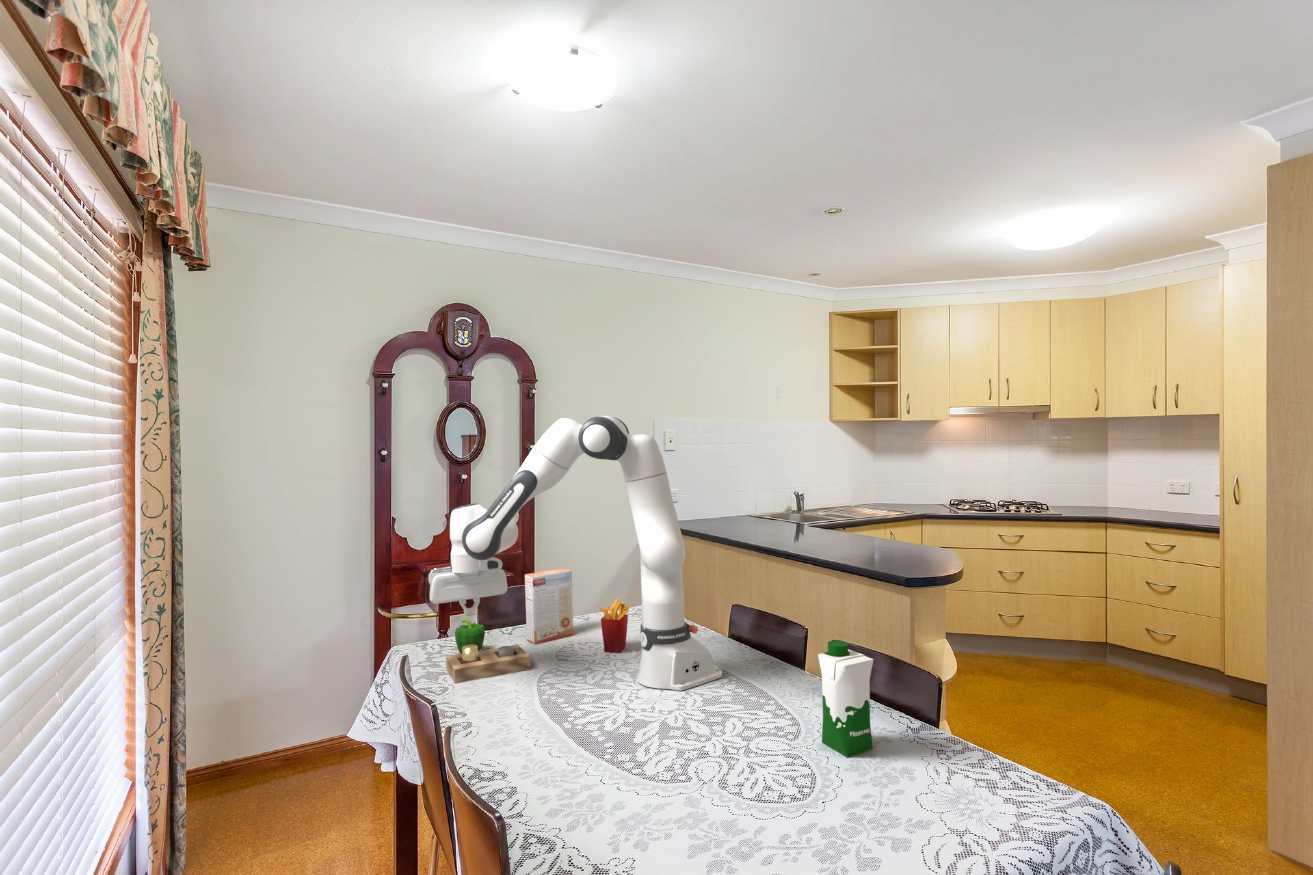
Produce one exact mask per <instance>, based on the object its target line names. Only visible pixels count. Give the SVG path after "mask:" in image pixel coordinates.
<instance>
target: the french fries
mask: <svg viewBox="0 0 1313 875" xmlns="http://www.w3.org/2000/svg"><path fill="white" fill-rule="evenodd" d="M631 607H632V606H631V605H630V604H628V605H627V604H625V601H623V602H621V601H620V600H619V599H617V598H616V599H615V601H614V602H613V603H612V605H611V607H609V606H608V605H607V606H605V608H603V607H602V606H601V607H600V608H599V610H600V611H601V612H602V613H603V614H604V616H602V617H601V618H600V625H601V633H602V634H601V635H602V642H603V650H604V653H611V654H612V653H613V654H621V653H622V652H623V651H624V650H625V649H626V647H627V645H626V644H627V633H628V621H629V614H627V613H628V612H629V609H630V608H631Z"/></svg>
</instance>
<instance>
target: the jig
mask: <svg viewBox="0 0 1313 875" xmlns="http://www.w3.org/2000/svg"><path fill="white" fill-rule="evenodd" d="M445 660H446V662H445V663H446V664H445V666H446V671H447V672H448V675H449V676H450V677H451V680H452V681H453V682H454V684H459V683H464V682H469V681H475V680H480V679H486V678H491V677H496V676H502V675H506V674H512V673H517V672H518V673H519V672H523V671H528V670H531V655H529V654H528V653H527V652H526V651H525V650H524V649H523V648H522V647H521V646H520V644H513V645H504V646H500V647H495V648H494V647H493V648H488V649H481V650H480V651H478V661H477V662H471V663H465V664H462V654H461V653H458V654H452V655H447V656H445Z"/></svg>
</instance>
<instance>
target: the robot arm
mask: <svg viewBox="0 0 1313 875" xmlns="http://www.w3.org/2000/svg"><path fill="white" fill-rule="evenodd" d="M583 454H585V455H587V456H589V457H591V458H593V459H596V460H605V461H606V460H607V461H617V462H618V463H619V464H620V466H621V469H622V470H621V471H622V474H623V478H624V483H625V487H626V488H625V489H626V491H627V495H628V500H629V506H630V511H631V515H632V519H633V524H634V527H635V528H634V529H635V532H636V536H637V541H638V545H639V554H640V555H639V559H640V564H639V565H640V587H641V588H640V589H641V591H640V592H641V624H640V631H639V632H640V634H639V635H640V636H639V638H640V647H641V651H640V662H639V668H638V672H637V675H636V681H637V682H638V683H639V684H640V685H642V686H645V687H648V688H653V689H662V690H663V689H666V690H667V689H668V690H673V691H685V690H689V689H690V688H694V687H697V686H700V685H702V684H705V683H710V682H712V681H715V680H717V679H720V678H723V671H722V669H721V668H720V667H719V666H718V665H716V664H714V659H713V656H712V653H711V651H710V650H709V648H707V647H706V646H705V645H703V644H702V643H700V641H698V640H697V639H695V638H694V637H693V636H692V634H693V635H696V634H697V633H698V632H699V626H697V625H695V624H689V623H687V622H686V621H685V591H684V590H685V589H684V580H683V568H682V567H683V564H684V563H685V559H686V554H687V553H686V547H685V543H684V539H683V535H682V530H681V527H680V522H679V518H678V515H677V511H676V508H675V504H674V500H673V494H672V490H671V487H670V482H669V478H668V472H667V468H666V465H665V460H664V458H663V455H662V452H661V450H660V447H659V445H658V443H657V441H656V439H655V437H654V436H653V437H652V436H651V435H649V434H645V433H643V434H641V433H639V434H630V431H629V428H628V426H627V425H626V423H625V422H624V421H623V420H621V419H620V418H618V417H614V416H611V415H599V416H593V417H590V418H589V419H588V420H586V421H585V422H584V423H583V424H581V423H580V422H577V420H575V419H572V418H568V417H562V418H559V419H557V420H556V421H555V422H554V423H553V424H552V425H551V426H549V427H548V429H547V430H546V431H545V432H544V433H543V434H542V435H541V437H540V438H539V439H538V441H537V442H536V443H535V445H533V447H532V449H531V451H530V452H529V454H528V455H527V457H526V458H525V460H524V461H523V463H522V464H521V466H520V467H519V468H518V470H517V471H516V473H515V474H514V475H513V477H512V479H511V480H510V481H509V483H508V484H507V485H506V486H505V488H503V490H502V491H501V493H499V495H498V497H497V498H495V500H494V501H493V502H492V504H491V505H490V506H489V508H488V509H487V508H485V507H483V506H482V504H480V503H478V502H477V503H476V502H475V503H470V504H465V505H461V506H457V507H455V508H454V509H453V510H452V511H451V514H450V518H449V519H450V521H449V540H450V542H451V551H450V565H449V566H443V567H435V568H433V569H432V570H431V571H430V572H429V573H428V575H427V582H428V583H429V585H430V588H429V601H430V602H431V603H432V604H433V605H438V604H439V605H440V604H446V603H452V602H459V605H460V606H461V607H462V610H463V616H464V617H470V616H471V617H472V616H476V615H477V608H478V606H479V604H480V602H481V598H486V597H494V596H501V595H505V594H506V593H507V591H508V581H507V580H508V579H507V575H506V572H505V570H503V569H502V568H503V562H502V560H501V559H499V558H497V557H494V556H495V555H497V554H500V553H501V552H504V551H506V550H508V549H510V548H511V547H512V546H514V545H515V544H516V543H517V540H518V539H519V535H520V534H519V526H518V524H517V522H516V521H515V520H514V518H515V517H516V515H517V514H518V512H520V510H521V509H522V508H523V506H524V505H526V504H527V503H528V502H529V501H530V500H532V499H533V498H534V497H537V496H538V495H540V494H542V493H544V492H546V491H548V490H551V489H553V487H555V486H556V485H557V484H558V483H559V482H560V481H561V480H562V479H563V478H564V477H565V476H566V475H567V474H568V472H569V471H570V469H571V468H572V466H573V465H574V464H575V462H576V461H577V459H579V457H580V456H582V455H583ZM467 600H472V601H473V602H474V603H473V605H472V607H469V608H468V607H467V606H466V604H467Z"/></svg>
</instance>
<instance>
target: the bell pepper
mask: <svg viewBox="0 0 1313 875" xmlns="http://www.w3.org/2000/svg"><path fill="white" fill-rule="evenodd" d="M460 621H461V622H462V623H466V625H465V624H461V625H460V626H458V627H456V629H455V631H454V640H455V643H456V646H457V650H458V652H459V654H462V647H463V646H465V645H477V646H478V651H481V650H483V649H482V648H483V645H484V642H485V636H486V631H485V630H486V627H485V626H484V624H478V623H476V622H474V623H472V622H471V620H470V619H468V618H462V619H460Z"/></svg>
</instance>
